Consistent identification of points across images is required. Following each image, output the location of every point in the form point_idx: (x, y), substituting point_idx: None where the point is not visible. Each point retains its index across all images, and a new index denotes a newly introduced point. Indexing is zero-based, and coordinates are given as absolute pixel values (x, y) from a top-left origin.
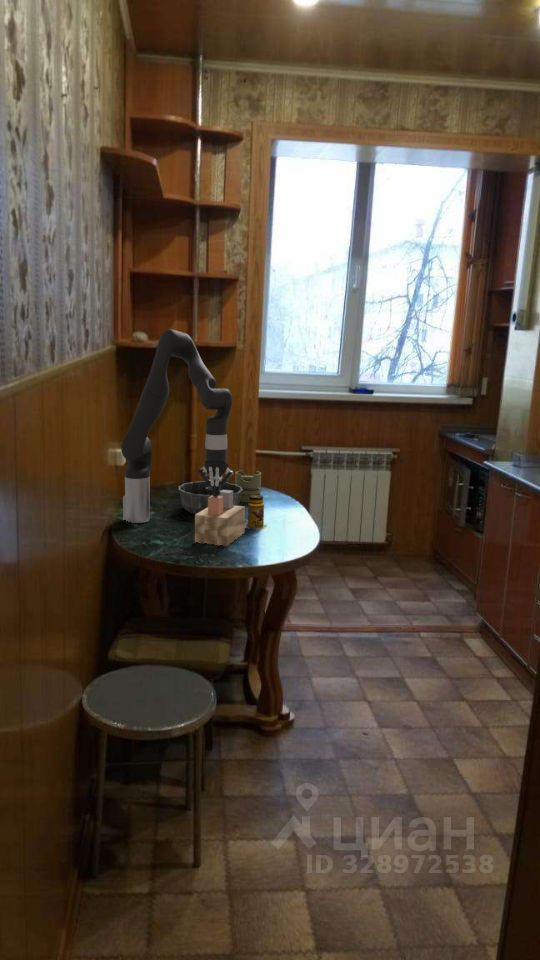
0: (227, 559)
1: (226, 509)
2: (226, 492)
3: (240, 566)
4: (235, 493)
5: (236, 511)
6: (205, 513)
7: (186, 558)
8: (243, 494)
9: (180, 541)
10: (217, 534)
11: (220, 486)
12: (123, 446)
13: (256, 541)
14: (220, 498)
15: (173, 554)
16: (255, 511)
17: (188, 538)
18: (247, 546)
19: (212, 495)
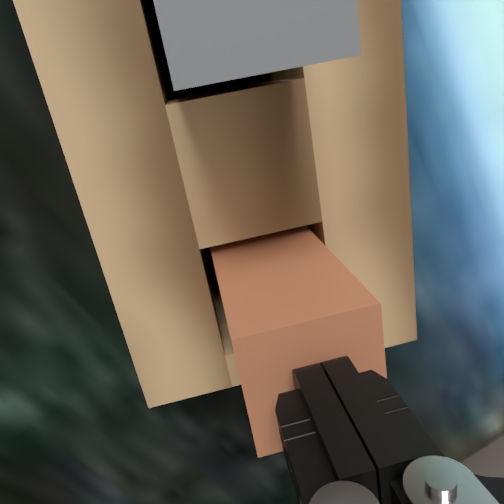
0: (423, 398)
1: (274, 94)
2: (307, 54)
3: (496, 426)
4: None
5: (395, 107)
6: (195, 333)
7: (273, 481)
8: None
9: (80, 333)
10: None
11: (442, 454)
12: None
13: (443, 82)
14: (383, 375)
15: (196, 481)
16: None
17: (74, 265)
18: (431, 197)
19: (236, 346)
